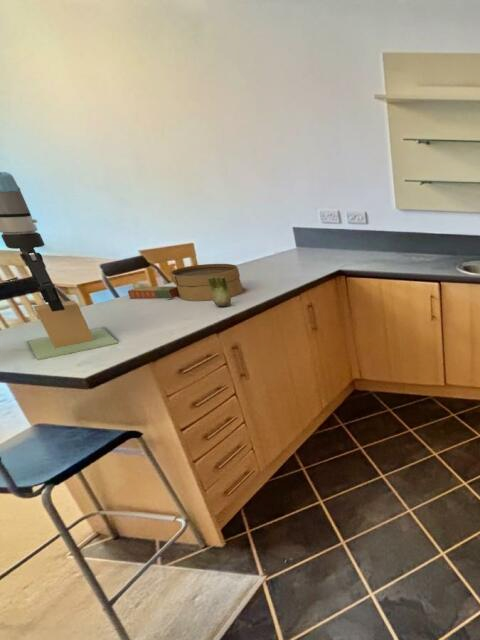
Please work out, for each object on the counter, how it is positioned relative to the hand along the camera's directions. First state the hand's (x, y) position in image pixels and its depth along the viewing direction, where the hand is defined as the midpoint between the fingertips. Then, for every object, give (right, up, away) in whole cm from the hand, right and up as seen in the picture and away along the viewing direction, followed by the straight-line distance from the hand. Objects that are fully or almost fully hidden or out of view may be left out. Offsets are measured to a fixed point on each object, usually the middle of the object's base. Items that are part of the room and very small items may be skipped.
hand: (54, 306), depth 126 cm
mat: (0, -11, +5) cm, 12 cm away
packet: (0, -10, +5) cm, 12 cm away
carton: (-16, +14, +55) cm, 59 cm away
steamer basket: (+3, +17, +62) cm, 64 cm away
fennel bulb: (+20, +8, +45) cm, 50 cm away
